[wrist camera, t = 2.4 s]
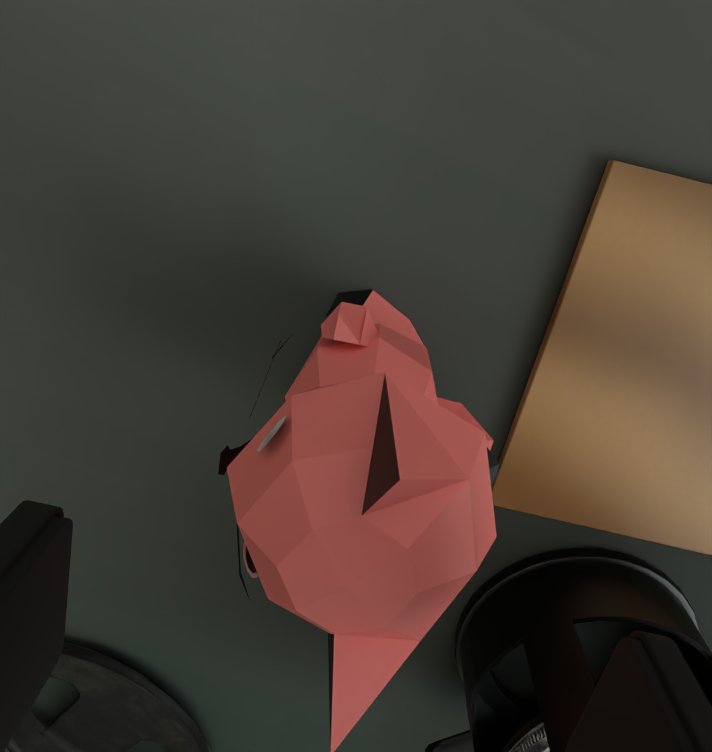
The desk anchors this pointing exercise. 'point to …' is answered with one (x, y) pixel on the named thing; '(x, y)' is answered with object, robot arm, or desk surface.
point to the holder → (108, 711)
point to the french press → (557, 642)
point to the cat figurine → (364, 498)
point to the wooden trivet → (625, 372)
